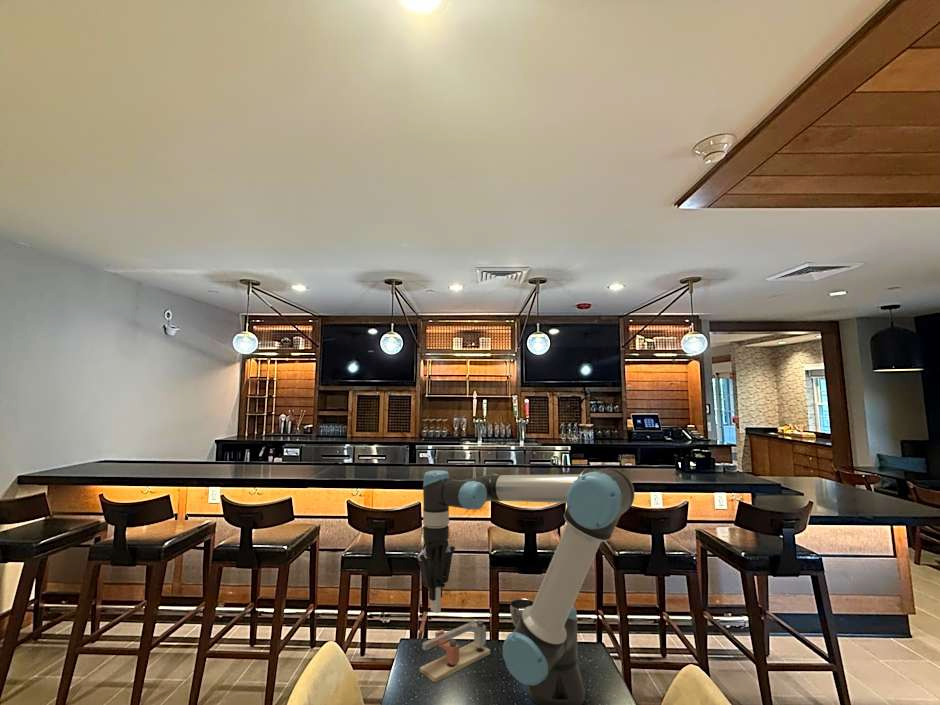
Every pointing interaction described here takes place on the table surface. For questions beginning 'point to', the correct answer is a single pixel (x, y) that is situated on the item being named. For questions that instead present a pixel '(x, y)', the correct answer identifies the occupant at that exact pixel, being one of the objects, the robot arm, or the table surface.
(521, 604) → the wine glass
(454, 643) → the slide leg
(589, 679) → the table surface
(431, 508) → the robot arm
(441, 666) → the bolt plate
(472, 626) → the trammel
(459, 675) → the table surface
